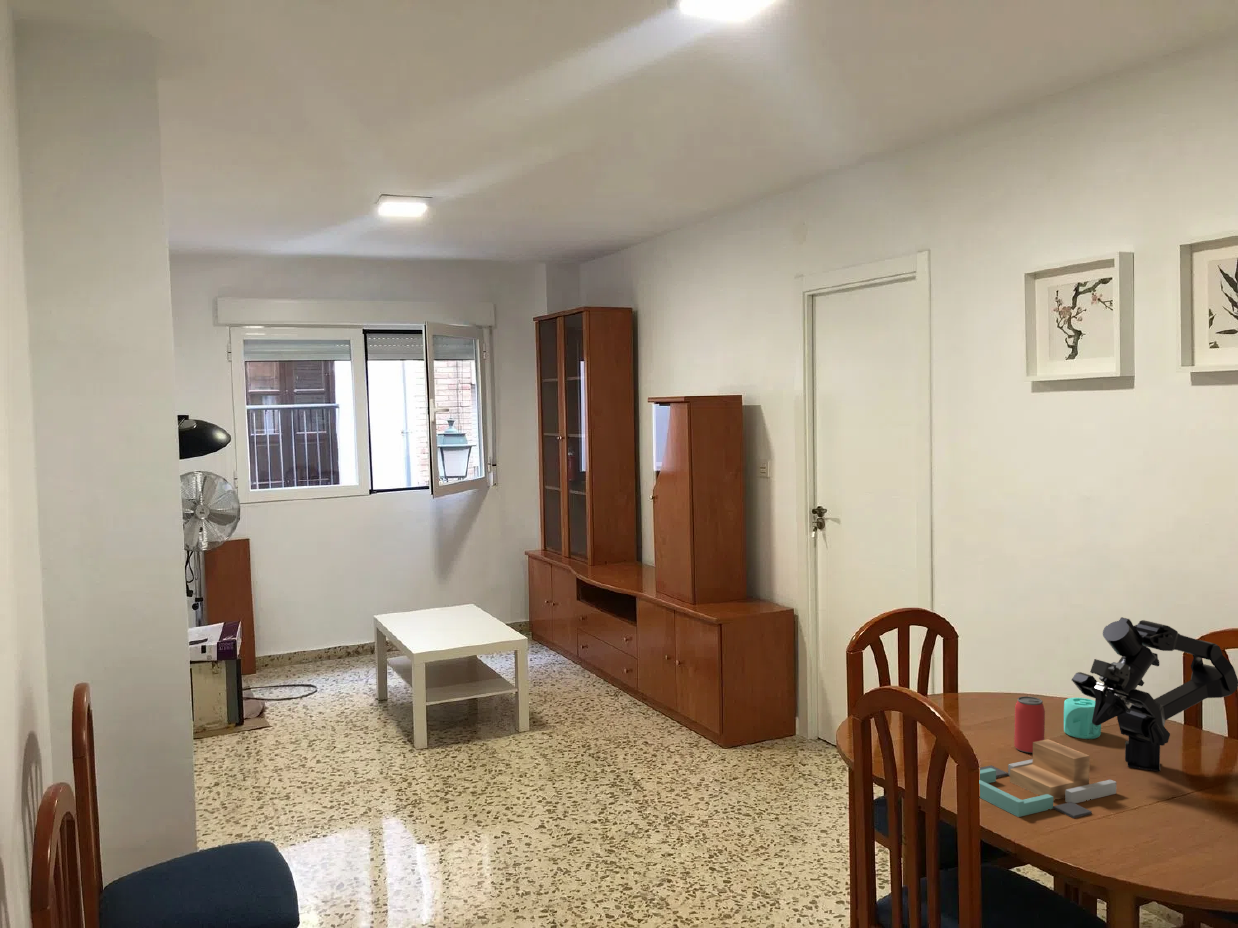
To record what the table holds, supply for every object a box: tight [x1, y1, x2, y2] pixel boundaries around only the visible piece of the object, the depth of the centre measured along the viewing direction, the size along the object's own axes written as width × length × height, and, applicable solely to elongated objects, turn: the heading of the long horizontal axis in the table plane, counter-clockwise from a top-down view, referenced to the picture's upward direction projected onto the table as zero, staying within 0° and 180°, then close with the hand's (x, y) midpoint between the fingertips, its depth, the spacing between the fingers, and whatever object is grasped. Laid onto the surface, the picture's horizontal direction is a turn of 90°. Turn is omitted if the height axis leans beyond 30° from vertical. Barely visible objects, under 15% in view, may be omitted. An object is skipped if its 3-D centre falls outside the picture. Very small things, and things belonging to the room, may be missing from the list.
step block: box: [1009, 738, 1091, 801], centre depth 209 cm, size 11×11×8 cm
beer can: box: [1013, 695, 1046, 754], centre depth 231 cm, size 7×7×12 cm
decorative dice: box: [1063, 697, 1102, 740], centre depth 241 cm, size 8×8×8 cm
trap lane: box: [979, 758, 1117, 819], centre depth 208 cm, size 28×27×3 cm
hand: (1094, 724), depth 214 cm, fingers closed
